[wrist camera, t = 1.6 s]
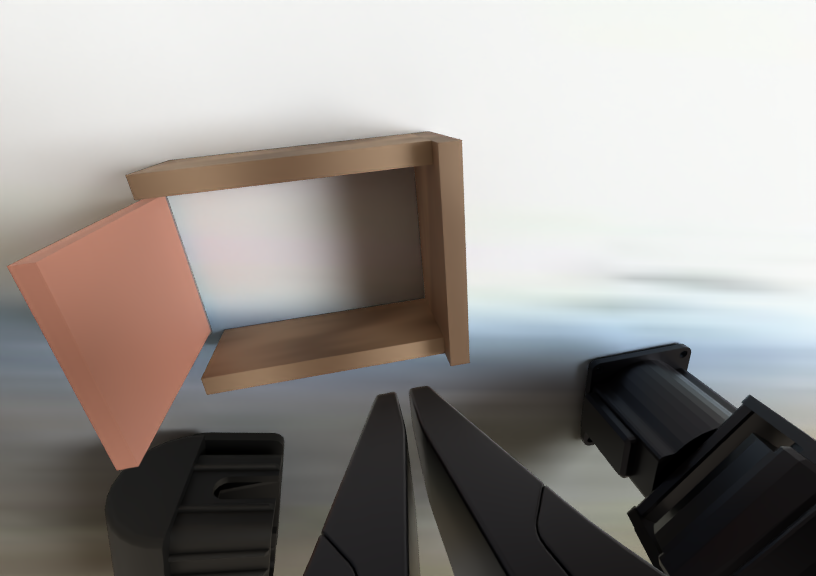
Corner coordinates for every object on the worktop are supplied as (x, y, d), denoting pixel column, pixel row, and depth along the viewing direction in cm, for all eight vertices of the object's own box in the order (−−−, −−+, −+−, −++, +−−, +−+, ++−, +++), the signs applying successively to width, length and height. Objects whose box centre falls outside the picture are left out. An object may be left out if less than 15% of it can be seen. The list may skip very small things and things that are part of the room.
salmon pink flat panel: (168, 186, 17) (31, 254, 9) (215, 328, 20) (140, 471, 12) (146, 188, 17) (-11, 259, 9) (196, 331, 20) (110, 477, 12)
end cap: (145, 423, 22) (71, 548, 15) (285, 425, 23) (269, 540, 17) (156, 551, 25) (101, 693, 19) (276, 546, 27) (261, 675, 21)
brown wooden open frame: (429, 131, 18) (462, 140, 13) (440, 309, 22) (469, 362, 17) (169, 160, 17) (110, 180, 12) (229, 343, 20) (199, 411, 16)
